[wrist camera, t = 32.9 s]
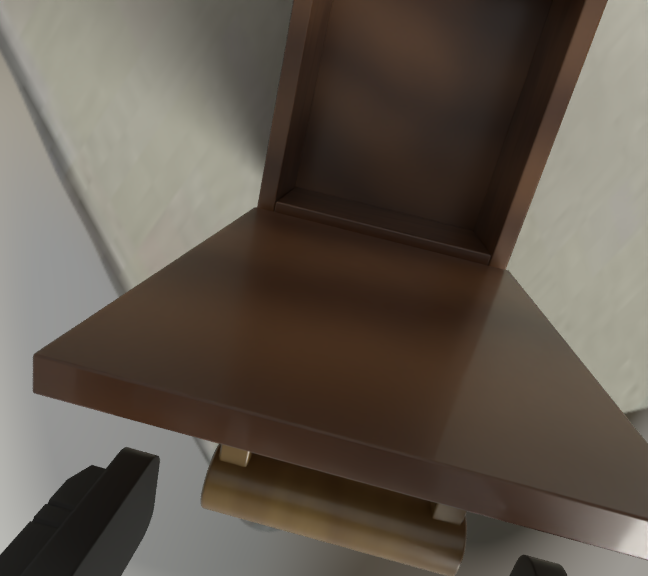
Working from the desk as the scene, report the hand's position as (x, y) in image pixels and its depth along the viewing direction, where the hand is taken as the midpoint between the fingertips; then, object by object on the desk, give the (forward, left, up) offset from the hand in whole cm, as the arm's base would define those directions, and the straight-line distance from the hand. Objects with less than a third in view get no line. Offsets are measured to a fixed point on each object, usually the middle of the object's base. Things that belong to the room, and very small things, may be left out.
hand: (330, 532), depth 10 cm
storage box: (0, -10, -19) cm, 22 cm away
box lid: (0, -4, -6) cm, 7 cm away
